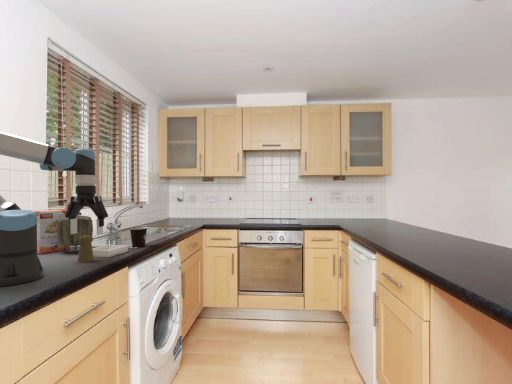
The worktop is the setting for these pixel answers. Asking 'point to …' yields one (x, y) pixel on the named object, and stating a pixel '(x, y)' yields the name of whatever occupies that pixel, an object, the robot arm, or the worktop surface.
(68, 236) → the tabletop clock
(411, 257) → the worktop surface
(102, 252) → the tray
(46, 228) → the cracker box
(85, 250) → the olive rounded piece
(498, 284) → the worktop surface
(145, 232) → the coffee mug
